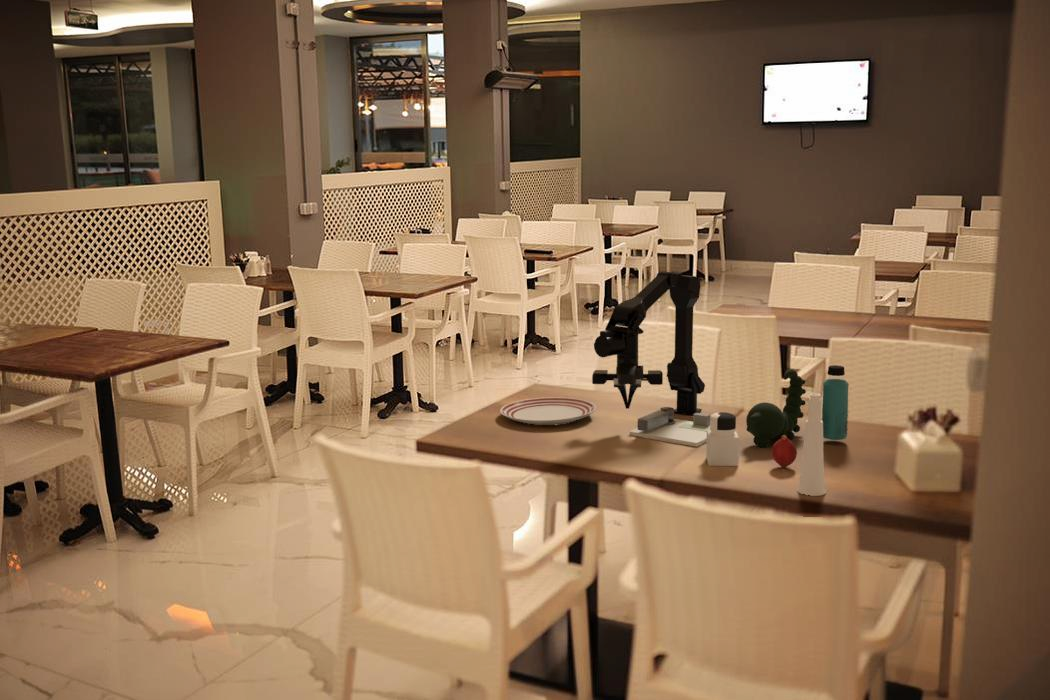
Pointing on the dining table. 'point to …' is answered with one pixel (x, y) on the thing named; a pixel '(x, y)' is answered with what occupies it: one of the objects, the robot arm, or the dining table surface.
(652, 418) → the bar
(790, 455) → the onion
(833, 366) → the beverage bottle
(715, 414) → the medicine bottle
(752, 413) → the toy figurine
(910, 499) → the dining table surface
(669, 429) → the door board
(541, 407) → the dinner plate
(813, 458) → the cosmetic bottle
